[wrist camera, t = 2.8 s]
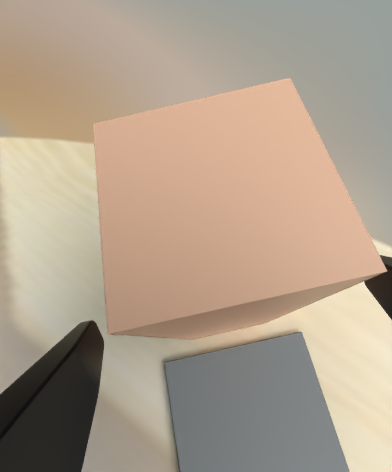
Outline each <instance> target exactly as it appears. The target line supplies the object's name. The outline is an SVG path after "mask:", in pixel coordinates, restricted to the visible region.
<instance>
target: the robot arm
mask: <svg viewBox="0 0 392 472" xmlns="http://www.w3.org/2000/svg"><path fill="white" fill-rule="evenodd" d="M380 257H381V259H382V261H383V263H384V265H385V267H386V269H387V272H384V273H382V274H379V275H377V276H375V277H372V278H370V279H368V280H365V281H364V282H365V285H366V287H367V288H368V289H369V291H370V292H371V293H372V295H373V296H374V297H375V299H376V300H377V301H378V302H379V304H380V305H381V306H382V308H383V309H384V310H385V312H386V313H387V314H388V316H389V317H390V318H391V319H392V258H391V257H387V256H382V255H380ZM103 351H104V340H103V337H102V335H101V333H100V331H99V329H98V326H97V324H96V323H95V321H93V320H90V321H86V322H82V323H80V324H79V325H77V326H76V327H75V328H74V329H73V330H72V331H71V332H70V333H68V334H67V335H66V336H65V337H64V338H63V339H62V340H61V341H60V342H58V343H57V344H56V345H55V346H54V347H53V348H52V349H51V350H49V351H48V352H47V353H46V354H45V355H44V356H43V357H42V358H40V359H39V360H38V361H37V362H36V363H35V364H34V365H33V366H31V367H30V368H29V369H28V370H27V371H26V372H25V373H24V374H23V375H21V376H20V377H19V378H18V379H17V380H16V381H15V382H14V383H12V384H11V385H10V386H9V387H8V388H7V389H6V390H5V391H3V392H2V393H1V394H0V472H81V470H82V466H83V461H84V457H85V452H86V448H87V443H88V439H89V434H90V430H91V425H92V421H93V416H94V412H95V407H96V403H97V398H98V393H99V386H100V377H101V369H102V360H103Z"/></svg>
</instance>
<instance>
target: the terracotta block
mask: <svg viewBox="0 0 392 472" xmlns="http://www.w3.org/2000/svg"><path fill="white" fill-rule="evenodd" d="M93 132H94V146H95V160H96V174H97V188H98V203H99V217H100V231H101V245H102V259H103V273H104V287H105V301H106V315H107V329H108V334H113V335H130V336H146V337H162V338H179V339H196V338H201V337H205V336H210V335H214V334H219V333H223V332H228V331H232V330H237V329H241V328H245V327H250V326H254V325H259V324H263V323H267V322H269V321H271V320H274V319H276V318H279V317H281V316H283V315H286V314H288V313H290V312H293V311H295V310H297V309H300V308H302V307H304V306H307V305H309V304H311V303H314V302H316V301H318V300H321V299H323V298H325V297H328V296H330V295H333V294H335V293H337V292H340V291H342V290H344V289H347V288H349V287H351V286H354V285H356V284H358V283H361V282H363V281H365V280H368V279H370V278H372V277H375V276H377V275H379V274H382V273H384V272H387V269H386V267H385V265H384V263H383V261H382V259H381V257H380V255H379V253H378V252H377V250H376V248H375V246H374V244H373V242H372V240H371V238H370V236H369V234H368V232H367V230H366V228H365V226H364V224H363V222H362V220H361V218H360V216H359V214H358V212H357V210H356V208H355V206H354V204H353V202H352V200H351V198H350V196H349V194H348V192H347V190H346V188H345V186H344V184H343V182H342V180H341V178H340V176H339V174H338V172H337V170H336V168H335V166H334V164H333V162H332V160H331V158H330V156H329V154H328V152H327V150H326V148H325V146H324V145H323V142H322V140H321V138H320V136H319V134H318V132H317V130H316V129H315V126H314V124H313V122H312V120H311V119H310V116H309V115H308V113H307V111H306V109H305V107H304V105H303V103H302V101H301V99H300V97H299V95H298V93H297V91H296V89H295V87H294V85H293V83H292V81H291V79H290V78H286V79H282V80H278V81H274V82H270V83H265V84H261V85H257V86H252V87H248V88H244V89H239V90H235V91H231V92H227V93H223V94H218V95H214V96H210V97H205V98H201V99H197V100H193V101H188V102H184V103H180V104H176V105H172V106H167V107H163V108H159V109H154V110H150V111H146V112H142V113H137V114H133V115H129V116H124V117H120V118H116V119H111V120H107V121H103V122H99V123H94V124H93Z"/></svg>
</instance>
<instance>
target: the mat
mask: <svg viewBox="0 0 392 472" xmlns="http://www.w3.org/2000/svg"><path fill="white" fill-rule="evenodd" d="M165 369H166V376H167V383H168V390H169V397H170V404H171V410H172V417H173V424H174V431H175V438H176V445H177V452H178V459H179V466H180V472H349V469H348V466H347V463H346V460H345V457H344V454H343V451H342V448H341V445H340V442H339V440H338V437H337V434H336V431H335V428H334V425H333V422H332V419H331V416H330V413H329V410H328V407H327V404H326V401H325V399H324V396H323V393H322V390H321V387H320V384H319V381H318V378H317V375H316V372H315V369H314V366H313V363H312V361H311V358H310V355H309V352H308V349H307V346H306V343H305V340H304V337H303V334H302V332H299V333H294V334H290V335H286V336H281V337H277V338H272V339H268V340H263V341H259V342H254V343H250V344H245V345H241V346H236V347H232V348H227V349H223V350H219V351H214V352H210V353H205V354H201V355H196V356H192V357H187V358H183V359H178V360H174V361H169V362H165Z"/></svg>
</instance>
